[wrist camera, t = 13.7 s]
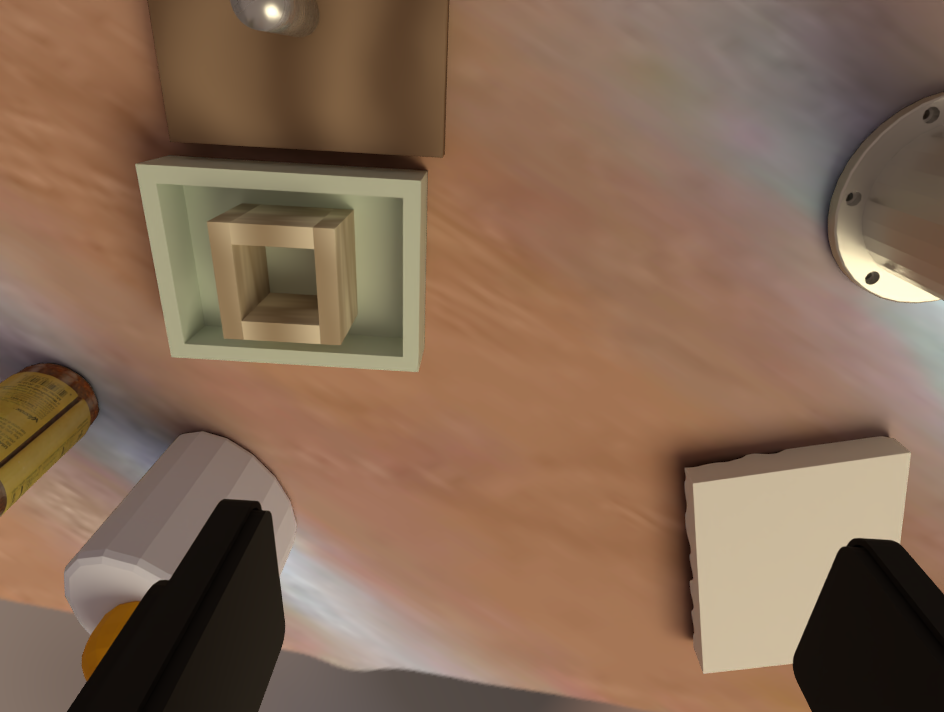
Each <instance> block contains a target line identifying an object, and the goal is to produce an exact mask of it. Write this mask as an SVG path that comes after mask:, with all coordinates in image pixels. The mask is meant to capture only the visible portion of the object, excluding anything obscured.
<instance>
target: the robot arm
mask: <svg viewBox="0 0 944 712" xmlns="http://www.w3.org/2000/svg"><path fill="white" fill-rule="evenodd" d="M924 113H925V114H924ZM923 114H924V116H923ZM848 194H849V197H848V198H847V196H848ZM846 198H847V199H846ZM828 239H829V243H830V247H831V250H832V254H833V256H834V258H835V260H836V262H837V264H838V266H839V268H840V269H841V270H842V272H843V273H844V274H845V275H846V276H847V277H848V278H849V279H850V280H851V281H852V282H853V283H855V284H856V285H858V286H859V287H861V288H862V289H864V290H866V291H868V292H870V293H872V294H874V295H875V296H877V297H879V298H883V299H887V300H891V301H895V302H904V303H922V302H931V301H937V300H943V301H944V92H941V93H938V94H935V95H932V96H929V97H926V98H923V99H921V100H919V101H917V102H915V103H913V104H912V105H910V106H908V107H906V108H904V109H902V110H900V111H899V112H898V113H896V114H895V115H894V116H892V117H891V118H889V119H888V120H887V121H885V122H884V123H882V124H881V125H880V126H879V127H878V128H877V129H876V130H875V131H874V132H873V133H872V134H871V135H870V136H869V137H868V138H867V139H866V140H865V141H864V142H863V143H862V144H861V146H860V147H859V148H858V149H857V151H856V152H855V153H854V155H853V156H852V157H851V158H850V160H849V161H848V163H847V165H846V167H845V169H844V170H843V172H842V174H841V176H840V178H839V179H838V182H837V185H836V187H835V190H834V193H833V196H832V199H831V203H830V209H829V215H828ZM284 634H285V619H284V610H283V602H282V594H281V586H280V578H279V569H278V561H277V553H276V545H275V536H274V528H273V520H272V514H271V512H270V511H266V510H262V507H261V504H260V503H259V501H251V500H235V499H223V500H221V501H220V502H219V503H218V504H217V506H216V507H215V509H214V510H213V512H212V514H211V515H210V517H209V518H208V520H207V521H206V523H205V525H204V526H203V528H202V529H201V531H200V532H199V534H198V536H197V537H196V539H195V540H194V542H193V544H192V545H191V547H190V548H189V550H188V551H187V553H186V555H185V556H184V558H183V559H182V561H181V562H180V564H179V566H178V567H177V569H176V570H175V572H174V573H173V575H172V577H171V578H170V580H159V581H158V582H156V583H155V584H153V585H152V586H151V587H150V589H149V590H148V591H147V592H146V594H145V595H144V597H143V598H142V600H141V601H140V603H139V604H138V606H137V607H136V609H135V610H134V612H133V613H132V615H131V616H130V618H129V619H128V621H127V622H126V624H125V625H124V627H123V628H122V630H121V631H120V633H119V634H118V636H117V637H116V639H115V640H114V642H113V643H112V645H111V646H110V648H109V649H108V651H107V652H106V654H105V655H104V657H103V658H102V660H101V661H100V663H99V664H98V666H97V667H96V669H95V670H94V672H93V673H92V675H91V676H90V678H89V679H88V681H87V682H86V684H85V685H84V687H83V688H82V690H81V691H80V693H79V694H78V696H77V697H76V699H75V701H74V702H73V703H72V705H71V707H70V708H69V709H68V711H67V712H258V711H259V708H260V705H261V702H262V700H263V697H264V694H265V691H266V689H267V686H268V683H269V681H270V677H271V675H272V672H273V669H274V667H275V664H276V661H277V659H278V656H279V653H280V650H281V647H282V644H283V640H284ZM793 671H794V675H795V678H796V680H797V683H798V685H799V687H800V689H801V691H802V693H803V695H804V697H805V699H806V701H807V703H808V705H809V707H810V709H811V711H812V712H944V594H943V593H942V592H941V591H940V589H939V588H938V587H937V586H936V585H935V584H934V582H933V581H932V580H931V579H930V578H929V577H928V576H927V574H926V573H925V572H924V571H923V570H922V569H921V567H920V566H919V565H918V564H917V563H916V562H915V560H914V559H913V558H912V557H911V556H910V555H909V554H908V552H907V551H906V550H905V549H904V548H903V547H902V546H901V545H900V544H899V543H898V542H895V541H893V540H884V539H868V538H854V539H852V540H851V541H849V543H848V544H847V546H843V547H841V548H840V549H839V551H838V552H837V555H836V557H835V559H834V562H833V564H832V566H831V569H830V571H829V573H828V576H827V578H826V580H825V583H824V585H823V587H822V590H821V592H820V595H819V597H818V599H817V602H816V604H815V606H814V609H813V611H812V613H811V616H810V618H809V620H808V623H807V625H806V628H805V630H804V632H803V635H802V637H801V639H800V642H799V644H798V646H797V649H796V651H795V653H794V657H793Z"/></svg>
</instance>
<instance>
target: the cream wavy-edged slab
mask: <svg viewBox="0 0 944 712" xmlns="http://www.w3.org/2000/svg"><path fill="white" fill-rule="evenodd" d="M910 456H911V452H910V451H909V450H907V449H906V448H905V447H904V446H903V445H902V444H900V443H899V442H898V441H897V440H896V439H894V438H888V437H884V436H878V437H871V438H864V439H857V440H849V441H842V442H835V443H828V444H820V445H813V446H806V447H799V448H791V449H785V450H783V451H781V452H779V453H774V454H757V453H755V454H748V455H746V456H744V457H743V458H740V459H736V460H732V461H729V462H717V463H711V464H706V465H702V466H698V467H689V468H684V469H685V474H686V480H685V482H684V485H685V496H686V502H687V510H686V513H685V526H686V531H687V536H688V539H689V543H690V548H691V554H690V556H689V557H690V563H691V568H692V572H693V579H692V580H690V591H691V596H692V600H693V605H694V608H693V610H692V611H691V614H692V620H693V625H694V635H693V641H694V650H695V652H696V655H697V658H698V660H699V663H700V666H701V668H702V671H703V674H705V673H714V672H723V671H732V670H740V669H749V668H758V667H767V666H776V665H785V664H793V657H794V653H795V651H796V649H797V646H798V644H799V642H800V639H801V637H802V635H803V632H804V630H805V628H806V625H807V623H808V620H809V618H810V616H811V613H812V611H813V609H814V606H815V604H816V602H817V599H818V597H819V595H820V592H821V590H822V587H823V585H824V583H825V580H826V578H827V576H828V573H829V571H830V569H831V566H832V564H833V562H834V559H835V557H836V555H837V552H838V551H839V549H840V548H841V547H843V546H847V544H848V543H849V541H851V540H852V539H854V538H868V539H884V540H893V541H895V542H898V543H899V544H900V540H901V532H902V523H903V515H904V506H905V498H906V490H907V481H908V473H909V464H910Z"/></svg>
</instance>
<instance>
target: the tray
mask: <svg viewBox="0 0 944 712" xmlns="http://www.w3.org/2000/svg"><path fill="white" fill-rule="evenodd" d="M135 166H136V171H137V176H138V182H139V187H140V192H141V198H142V203H143V208H144V214H145V219H146V224H147V230H148V235H149V240H150V246H151V251H152V256H153V262H154V267H155V272H156V277H157V283H158V288H159V293H160V299H161V304H162V309H163V315H164V320H165V325H166V331H167V336H168V341H169V347H170V352H171V357H178V358H195V359H212V360H228V361H245V362H261V363H278V364H294V365H311V366H327V367H344V368H360V369H377V370H393V371H410V372H418V371H419V367H420V363H421V359H422V355H423V351H424V342H425V289H426V236H427V183H428V171H427V170H410V169H393V168H376V167H359V166H342V165H325V164H308V163H291V162H274V161H257V160H240V159H223V158H206V157H188V156H171V155H168V156H164V157H160V158H156V159H153V160H149V161H145V162H141V163H137V164H135ZM241 203H246V204H264V205H282V206H299V207H317V208H335V209H352V210H354V225H355V252H356V279H357V306H358V315H357V317H356V319H355V320H354V322H353V324H352V326H351V328H350V329H349V331H348V333H347V335H346V337H345V338H344V340H343V342H342V344H341V345H326V344H309V343H292V342H275V341H257V340H240V339H224V336H223V330H222V323H221V316H220V309H219V302H218V295H217V288H216V281H215V275H214V268H213V261H212V254H211V247H210V240H209V233H208V226H207V221H209V220H211V219H213V218H215V217H216V216H218V215H220V214H222V213H224V212H226V211H228V210H230V209H232V208H234V207H236V206H237V205H239V204H241ZM265 248H266V257H267V267H268V277H269V286H270V293H287V294H304V295H317V284H316V269H315V255H314V249H303V248H286V247H268V246H265Z"/></svg>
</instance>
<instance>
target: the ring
mask: <svg viewBox="0 0 944 712" xmlns="http://www.w3.org/2000/svg"><path fill="white" fill-rule="evenodd" d="M207 226H208V233H209V240H210V247H211V254H212V261H213V268H214V275H215V281H216V288H217V295H218V302H219V309H220V316H221V323H222V330H223V336H224V339H240V340H257V341H275V342H292V343H309V344H326V345H341V344H342V342H343V340H344V338H345V337H346V335H347V333H348V331H349V329H350V328H351V326H352V324H353V322H354V320H355V319H356V317H357V315H358V306H357V279H356V252H355V225H354V210H352V209H335V208H317V207H299V206H282V205H264V204H246V203H241V204H239V205H237V206H236V207H234V208H232V209H230V210H228V211H226V212H224V213H222V214H220V215H218V216H216V217H215V218H213V219H211V220H209V221H207ZM265 246H268V247H286V248H303V249H314V255H315V269H316V284H317V295H304V294H287V293H270V286H269V277H268V267H267V257H266V248H265Z"/></svg>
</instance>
